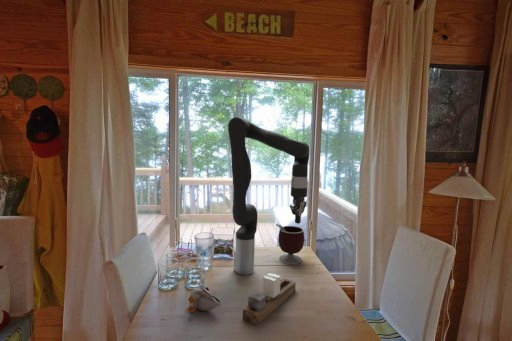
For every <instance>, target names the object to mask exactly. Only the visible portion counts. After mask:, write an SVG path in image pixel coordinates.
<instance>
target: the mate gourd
mask: <svg viewBox="0 0 512 341" xmlns="http://www.w3.org/2000/svg"><path fill="white" fill-rule="evenodd" d="M275 226H277V227H278V228H279V231H278V237H277V238H278V246H279V248H280V250H281V251H282V252H283V253H285V254H282V255H279V259H278V260H279V261H280V263H283V264H285V265H286V264H287V265H298V263H299V264H301V263H302V262H303V261H302V260H303V259H302V257H301V256H299V255H296V254H298V253H300V252H301V250H303V247H304V244H305V232H304V228H302V227H300V226H295V225H284V226H282V225H280V224H278V223H276V224H275ZM301 261H302V262H301Z"/></svg>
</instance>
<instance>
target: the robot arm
mask: <svg viewBox="0 0 512 341" xmlns="http://www.w3.org/2000/svg"><path fill="white" fill-rule="evenodd" d="M227 132H228V137H229V138H228V139H229V144H230V156H231V157H230V159H231V175H232V194H233V195H232V197H233V200H232V218H233V220H234V223H235V224H236V225H238V226H239V228H238V229H237V230H236V232H235V251H233V271H234V272H235V273H236V274H238V275H243V276H244V275H245V276H246V275H251V274H253V273H254V272H255V271H254V270H255V243H256V242H255V240H256V239H255V238H256V237H255V236H256V235H255V234H257V226H258V209H257V208H256V207H255V205H254V204H251V203H247V193H248V190H249V187H250V185H251V183H252V166H251V165H252V164H251V160H250V157H249V154H248V151H247V147H246V139H252V140H255V141H258V142H260V143H262V144H264V145H266V146H268V147H270V148H272V149H274V150H278V151H280V152H283V153H285V154H288V155H289V156H292V157H294V160H293V165H292V168H291V179H290V180H291V182H290V196H291V197H292V198H293V200H292V204H289V208H290V211H291V213H292V216H295V217H294V223H295V224H297V225H299V224H300V223H302V222H301V219H302V214H304V212H305V208H306V206H307V201H305V198H307V197H308V189H309V188H308V186H309V185H308V184H309V182H308V179H309V178H308V174H309V173H308V172H309V171H308V169H309V168H308V167H309V162H310V161H309V160H310V151H311V149H310V146H309V144H307V143H306V142H304V141H303V142H301V141H297V140H295V139H291V138H289V137H288V136H286V135H283V134H280V133H278V132H274V131H271V130H268V129H264V128H262V127H260V126H257V125H255V124H253V123H252V122H251V121H249V120H247V119H246V118H243V117H239V116H234V117H232V118H231V119H229V122H228V124H227Z"/></svg>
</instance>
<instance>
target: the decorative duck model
mask: <svg viewBox="0 0 512 341" xmlns="http://www.w3.org/2000/svg"><path fill="white" fill-rule="evenodd" d="M209 290H210V288H209V287H208V286H204V287H199V288H197V287H196V288H194V289H193V290H192V292H191V294H190V295H189V297H188V298H187V301H188V302H189V306H188V307H187V310H188V312H189V314H191V313H193V312H194V311H196V310H198V311H202V312H206V311H210V310H214V309H215V308H218V307H220V306H221V305H222V303H221V301H220V300H219V299H218V298H217V297H216V296H214V295H213V294H212V293H210V291H209Z"/></svg>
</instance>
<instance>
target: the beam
mask: <svg viewBox="0 0 512 341" xmlns="http://www.w3.org/2000/svg"><path fill="white" fill-rule="evenodd" d="M296 286H297V283H296V281H294V280H290V279H288V278H285V277H283V278H282V279H280V293H279V294H278V295H277V296H276V297H275V298H271V299H270V300H269V301H267V300H266V295H263V293H259V292H257V291H253V292H252V293H251V294H249V295H248V296H247V297H248V302H247V303H248V305H247V306H245V307H244V308H242V320H243V321H245V322H248V323H250V324H252V325H254V326H258V325H259V324H260V323H261V322H262V321H263V320H264V319H266V318H267V317H268V316H269V315H270V314H271V313H272V312H273V311H275V310H276V308H278V307H279V306H280V305H281V304H283V302H284V301H286V300H287V299H288V298H289V297H290V296H291V295H292V294H294V292H296Z"/></svg>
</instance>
